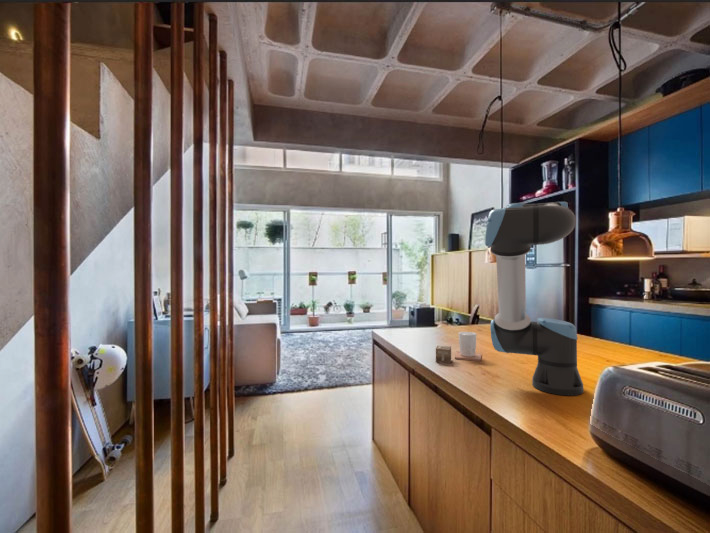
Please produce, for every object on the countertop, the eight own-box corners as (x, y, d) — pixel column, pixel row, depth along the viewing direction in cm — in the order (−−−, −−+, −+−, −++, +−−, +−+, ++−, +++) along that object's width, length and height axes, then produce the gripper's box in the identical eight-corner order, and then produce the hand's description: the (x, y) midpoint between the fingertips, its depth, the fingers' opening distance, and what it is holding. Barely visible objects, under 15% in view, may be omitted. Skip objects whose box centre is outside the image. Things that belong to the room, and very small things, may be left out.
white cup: (454, 354, 161) (454, 332, 161) (467, 352, 165) (467, 331, 165) (467, 358, 154) (467, 335, 154) (480, 355, 158) (480, 333, 158)
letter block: (450, 363, 149) (449, 349, 149) (435, 362, 151) (435, 348, 151) (451, 359, 155) (451, 346, 155) (437, 358, 157) (437, 345, 157)
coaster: (480, 361, 152) (480, 359, 152) (454, 359, 156) (454, 357, 156) (480, 354, 162) (480, 353, 162) (456, 353, 166) (456, 351, 166)
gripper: (504, 241, 163) (504, 286, 163) (508, 238, 140) (508, 290, 140) (522, 241, 161) (522, 287, 161) (529, 237, 137) (529, 291, 137)
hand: (516, 288), depth 150 cm, fingers open, 13 cm apart
